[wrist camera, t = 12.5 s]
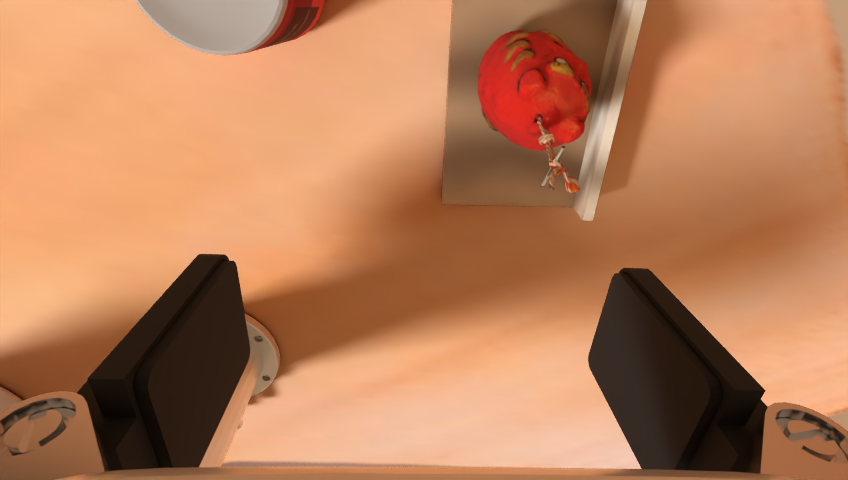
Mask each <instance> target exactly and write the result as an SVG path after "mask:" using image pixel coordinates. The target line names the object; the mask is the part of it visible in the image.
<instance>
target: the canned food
mask: <svg viewBox="0 0 848 480" xmlns="http://www.w3.org/2000/svg"><path fill="white" fill-rule="evenodd" d="M135 1H136V2H137V4H138V5H139V7H140V8H141V9H142V11H143V12H144V13H145V14H146V15H147V16H148V17H149V18H150V19H151V20H152V22H153V23H154V24H155V25H156V26H157V27H159V28H160V29H161V30H162V31H164V32H165V33H166V34H168V35H169V36H170V37H171V38H173V39H175V40H177V41H178V42H180V43H182V44H184V45H185V46H187V47H190V48H193V49H195V50H198V51H201V52H205V53H211V54H216V55H237V54H241V53H247V52H251V51H254V50H258V49H262V48H265V47H269V46H272V45H276V44H280V43H283V42H287V41H290V40H294V39H297V38H299V37H301V36H302V35H304V34H306V33H307V32H308V31H309V30H310V29H311V28H312V27H313V26H314V25H315V23H316V22H317V20H318V19H319V17H320V15H321V12H322V10H323V8H324V3H325V0H135Z"/></svg>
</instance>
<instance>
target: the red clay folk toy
mask: <svg viewBox="0 0 848 480" xmlns="http://www.w3.org/2000/svg"><path fill="white" fill-rule="evenodd" d="M591 90H592V85H591V81H590V77H589V74H588V67H587V64H586V63H585V62H584V61H582V60H581V59H579V58H578V57H577V56H576V55H575V54H574V53H573V52H572V51H571V50H570V49H569V47H568V45H567V44H566V43H565V42H564V41H563V40H562V39H561V38H560V37H559V36H557V35H555V34H551V33H550V32H549V31H548V30H539V31H535V32H524V31H522V30H517V31H511V32H508V33H505V34H503V35H501V36H500V37H499V38H498V39H496V40H495V41H494V42H493V43H492V44H491V46H490V47H489V48H488V50H487V51H486V52H485V54H484V56H483V58H482V61H481V64H480V67H479V74H478V96H479V100H480V103H481V106H482V108H481V109H482V115H483V116H484V118H485V120H486V122H487V123H488V125H489V127H490V128H491V129H493V130H494V131H498V132H500V133H501V134H502V135H503V136H505V137H506V138H508V139H509V140H510V141H511V142H513V143H514V144H516V145H519V146H522V147H524V148H527V149H530V150H536V151H543V150H547V153H548V157H549V165H550V170H549V172H548V173H547V175H546V177H545V179H544V181H543V182H542V184H541V187H545V184H546V182H547V181H548V179H549V188H550V190H554V189H555V181H554V180H555V176H556V175H561V173H563V176H564V178H565V187H566V191H567V192H569V193H570V194H571V193H574V192H578V191H579V190H580V187H579V185H578V184H579V182H578V181H577V180H576V179H575V178H574V177H572V176H569V175H568V173H567V171H566V169H565V168H564V167H563V164H562V162H561V161H560V160H559V158H560V156H561V154H562V152H563V150H564V149H565V146H562V147H561V150H560V152H559V153H558V155H557V156H556V155H555V153H554V151H553V149H552V148H555V147H558V146H560V145H563V144H565V143H566V144H568V143H571V142H573V141H575V140H576V139H578V138H579V137H580V136H581V135H582V134H583V133H584V129H585V124H584V123H585V121H586V118H587V115H588V113H589V112H590V107H591V105H590V95H591Z"/></svg>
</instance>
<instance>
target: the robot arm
mask: <svg viewBox="0 0 848 480" xmlns="http://www.w3.org/2000/svg"><path fill="white" fill-rule="evenodd" d="M588 361H589V367H590V370H591V372H592V373H593V375H594V377H595V379H596V381H597V383H598V385H599V387H600V389H601V391H602V393H603V395H604V397H605V399H606V401H607V402H608V404H609V406H610V408H611V410H612V412H613V414H614V416H615V418H616V420H617V422H618V424H619V426H620V428H621V430H622V431H623V433H624V435H625V437H626V439H627V441H628V443H629V445H630V447H631V449H632V451H633V453H634V455H635V457H636V458H637V460H638V462H639V464H640V466H641V468H642V469H584V468H490V467H221V465H222V463H223V460H224V458H225V456H226V453H227V451H228V449H229V446H230V444H231V442H232V439H233V437H234V435H235V432H236V430H237V429H239V428H240V427H241V426H242V423H243V422H242V416H243V414H244V411H245V409H246V407H247V404H248V402H249V400H250V397H251V396H254V395H256V394H258V393H260V392H262V391H263V390H265V389H266V388H267V387H268V386H269V385H270V384H271V383H272V382H273V380H274V378H275V376H276V374H277V371H278V368H279V366H280V353H279V348H278V346H277V344H276V341H275V339H274V338H273V337H272V335H271V334H270V332H269V331H268V330H267V329H266V328H265V327H264V326H263V325H262V324H261V323H259V322H258V321H256V320H255V319H254V318H252V317H250V316H249V315H247V314H245V313H244V307H243V301H242V295H241V289H240V283H239V278H238V272H237V266H236V263H235V262H234V261H229V259H228V257H227V256H226V255H218V254H199V255H198V256H197V257H196V258H195V259H194V260H193V261H192V262H191V263H190V265H189V266H188V267H187V268H186V269H185V270H184V271H183V272H182V274H181V275H180V276H179V277H178V278H177V279H176V280H175V281H174V282H173V284H172V285H171V286H170V287H169V288H168V289H167V290H166V291H165V293H164V294H163V295H162V296H161V297H160V298H159V299H158V300H157V301H156V303H155V304H154V305H153V306H152V307H151V308H150V309H149V310H148V312H147V313H146V314H145V315H144V316H143V317H142V318H141V319H140V321H139V322H138V323H137V324H136V325H135V326H134V327H133V328H132V329H131V331H130V332H129V333H128V334H127V335H126V336H125V337H124V338H123V340H122V341H121V342H120V343H119V344H118V345H117V346H116V347H115V348H114V350H113V351H112V352H111V353H110V354H109V355H108V356H107V357H106V359H105V360H104V361H103V362H102V363H101V364H100V365H99V366H98V367H97V369H96V370H95V371H94V372H93V373H92V374H91V375H90V376H89V378H88V381H87V382H86V383H85V384H84V385H83V386H82V388H81V389H80V390H79V391H78V392H77V393H75V392H69V391H56V392H49V393H44V394H41V395H37V396H34V397H31V398H28V399H26V400H24V401H21V402H19V403H17V404H15V405H13V406H11V407H9V408H8V409H6V410H5V411H3V412H1V413H0V480H848V431H847V430H845V429H844V428H843V427H842V426H840V425H839V424H837V423H836V422H834V421H833V420H831V419H830V418H828V417H826V416H824V415H822V414H820V413H818V412H816V411H814V410H812V409H809V408H806V407H803V406H800V405H797V404H791V403H786V402H784V403H774V404H772V405H770V406H768V407H767V406H766V405H765V404H764V403H763V401H762V400H761V397H762V396H763V394H764V392H765V390H764V389H763V388H762V387H761V385H760V384H759V383H758V382H757V381H756V380H755V379H754V378H753V377H752V376H751V375H750V374H749V373H748V372H747V371H746V370H745V369H744V368H743V367H742V366H741V365H740V364H739V363H738V362H737V360H736V359H735V358H734V357H733V356H732V355H731V354H730V353H729V352H728V351H727V350H726V349H725V348H724V347H723V346H722V345H721V344H720V343H719V342H718V341H717V340H716V339H715V338H714V336H713V335H712V334H711V333H710V332H709V331H708V330H707V329H706V328H705V327H704V326H703V325H702V324H701V323H700V322H699V321H698V320H697V319H696V318H695V317H694V316H693V315H692V314H691V313H690V311H689V310H688V309H687V308H686V307H685V306H684V305H683V304H682V303H681V302H680V301H679V300H678V299H677V298H676V297H675V296H674V295H673V294H672V293H671V292H670V291H669V290H668V289H667V287H666V286H665V285H664V284H663V283H662V282H661V281H660V280H659V279H658V278H657V277H656V276H655V275H654V274H653V273H652V272H651V271H650V270H649V269H641V268H623V269H622V270H621V271H620V272H619V273H616V274H614V276H613V277H612V280H611V283H610V287H609V290H608V293H607V296H606V300H605V303H604V306H603V309H602V313H601V316H600V319H599V323H598V326H597V329H596V332H595V336H594V339H593V342H592V346H591V349H590V352H589V356H588Z"/></svg>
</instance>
